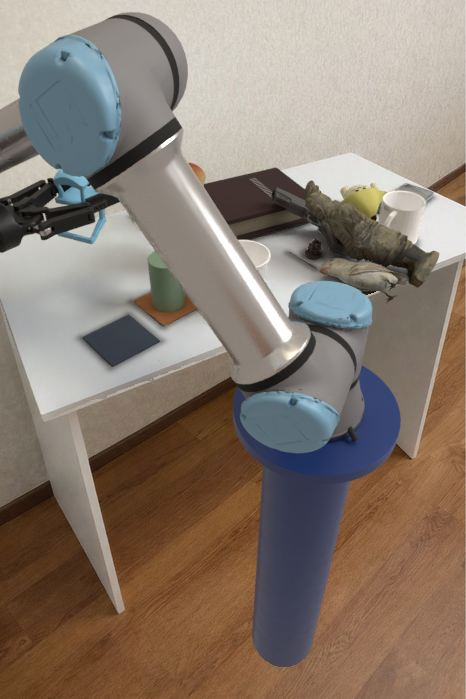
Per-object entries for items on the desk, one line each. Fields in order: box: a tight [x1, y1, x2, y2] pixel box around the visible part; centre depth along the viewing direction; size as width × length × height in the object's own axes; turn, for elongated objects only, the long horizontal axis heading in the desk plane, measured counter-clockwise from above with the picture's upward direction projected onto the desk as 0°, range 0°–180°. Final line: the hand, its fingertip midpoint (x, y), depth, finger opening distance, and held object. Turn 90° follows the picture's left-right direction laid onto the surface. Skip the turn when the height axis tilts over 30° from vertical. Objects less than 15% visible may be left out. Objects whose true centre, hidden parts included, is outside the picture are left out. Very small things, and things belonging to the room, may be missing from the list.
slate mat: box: [82, 313, 161, 367], centre depth 106 cm, size 10×10×1 cm
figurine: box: [288, 237, 323, 269], centre depth 125 cm, size 5×8×4 cm
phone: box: [377, 182, 435, 214], centre depth 144 cm, size 8×16×1 cm, turn 140°
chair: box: [52, 169, 107, 245], centre depth 105 cm, size 8×8×12 cm
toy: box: [339, 182, 389, 221], centre depth 137 cm, size 13×7×15 cm
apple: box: [188, 162, 206, 187], centre depth 130 cm, size 8×8×8 cm
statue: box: [304, 179, 440, 288], centre depth 119 cm, size 11×9×30 cm
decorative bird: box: [319, 257, 409, 305], centre depth 117 cm, size 5×16×7 cm
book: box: [204, 167, 310, 240], centre depth 137 cm, size 28×20×6 cm
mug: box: [377, 190, 427, 245], centre depth 128 cm, size 12×9×9 cm
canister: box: [147, 250, 185, 312], centre depth 111 cm, size 6×6×10 cm
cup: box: [238, 239, 272, 281], centre depth 111 cm, size 10×10×11 cm
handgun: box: [271, 187, 348, 258], centre depth 127 cm, size 3×19×12 cm
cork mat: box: [132, 291, 198, 327], centre depth 114 cm, size 10×10×1 cm
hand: (102, 186), depth 107 cm, fingers closed on chair, 8 cm apart
